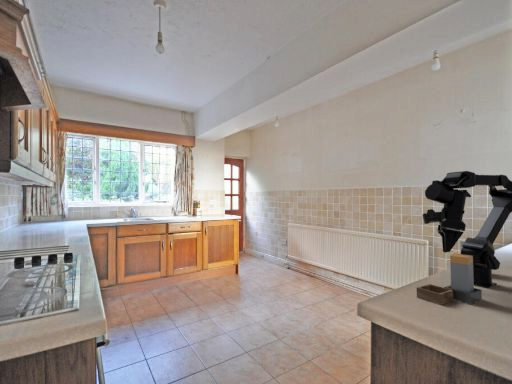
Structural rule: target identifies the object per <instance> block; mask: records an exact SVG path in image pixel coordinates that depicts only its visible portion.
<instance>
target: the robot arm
mask: <svg viewBox="0 0 512 384" xmlns="http://www.w3.org/2000/svg"><path fill="white" fill-rule="evenodd" d="M431 182H432V183H431V184H429V185H428V186H427V187H426V189H425V190H424V195H425V197H426V199H427V200H429V201H433V202H436V203H439V204H442V205H443V207H442V208H441V210H440V211H435V210H434V209H433V208H432V209H427V210H426V213H423V214H422V219H423V224H424V225H427V224H428V225H429V224H431V223H432V224H433V223H439V224H438V225H437V234H438V235H440V237H441V242H442V243H441V244H442V252H443V253H450V252H451V251H452V249H453V248H454V246H455V245H456V244H457V242H458V241H459V240H460V238H461V237H462V236H463V234H464V232H465V231H466V226H467V225H466V223H465V222H464V221H463V217H464V215H465V212H466V211H465V206H466V200H467V198H471V197H472V195H471V194H470V192H469V191H468V190H467V189H469V188H473V187H475V186H488V187H489V191H488V194H489V196H491V202H492V209H491V211H490V212H489V213H488V216H487V218H485V220H484V222H483V224H482V226H481V227H480V229H479V231H478V233H477V235H476V236H475V237H473V238H472V237H467V238H466V239H464V240H465V243H464V244H463V245H462V249H460V254H463V255H471V256H473V277H474V286H479V287H484V288H489V289H490V288H492V287H494V286H497V285H498V284H497V283H496V282H493V272H492V271H496V270H498V269H500V266H501V265H500V264H501V262H500V261H499V260H498V258H497V257H496V256H495V253H496V252H495V247H494V243H495V241H496V239H497V238H498V235H499V234H500V232H501V230H502V229H503V227H504V225H505V223H506V221H507V219H508V217H510V216H509V215H511V213H512V180H510V178H509V177H508V176H507V175H505V174H476V173H475V172H473V171H469V170H463V171H451V172H447V173H446V175H445V177H444V178H443V179H442V180H441V181H440V180H432V181H431ZM497 187H502V188H504V189H497Z"/></svg>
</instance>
